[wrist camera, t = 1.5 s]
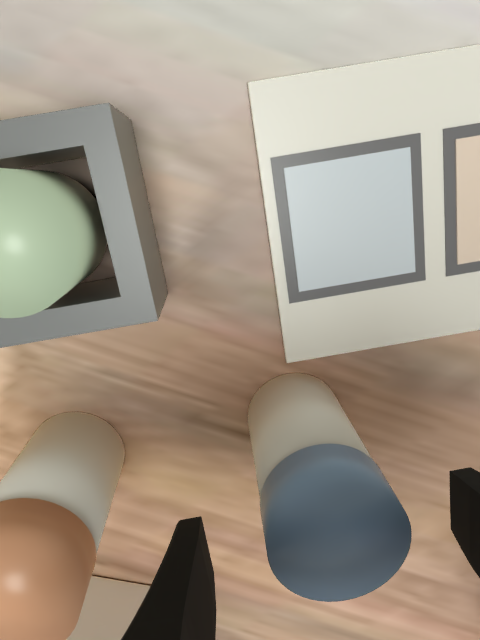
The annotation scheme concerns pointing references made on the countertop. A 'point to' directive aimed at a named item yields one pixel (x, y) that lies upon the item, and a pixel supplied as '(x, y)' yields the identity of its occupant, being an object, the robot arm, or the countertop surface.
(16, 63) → the countertop surface
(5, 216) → the button
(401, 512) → the cylinder
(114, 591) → the milk
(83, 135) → the button housing
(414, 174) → the sheet
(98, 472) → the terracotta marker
